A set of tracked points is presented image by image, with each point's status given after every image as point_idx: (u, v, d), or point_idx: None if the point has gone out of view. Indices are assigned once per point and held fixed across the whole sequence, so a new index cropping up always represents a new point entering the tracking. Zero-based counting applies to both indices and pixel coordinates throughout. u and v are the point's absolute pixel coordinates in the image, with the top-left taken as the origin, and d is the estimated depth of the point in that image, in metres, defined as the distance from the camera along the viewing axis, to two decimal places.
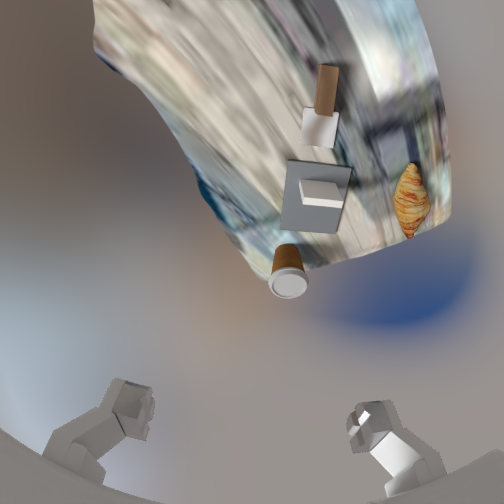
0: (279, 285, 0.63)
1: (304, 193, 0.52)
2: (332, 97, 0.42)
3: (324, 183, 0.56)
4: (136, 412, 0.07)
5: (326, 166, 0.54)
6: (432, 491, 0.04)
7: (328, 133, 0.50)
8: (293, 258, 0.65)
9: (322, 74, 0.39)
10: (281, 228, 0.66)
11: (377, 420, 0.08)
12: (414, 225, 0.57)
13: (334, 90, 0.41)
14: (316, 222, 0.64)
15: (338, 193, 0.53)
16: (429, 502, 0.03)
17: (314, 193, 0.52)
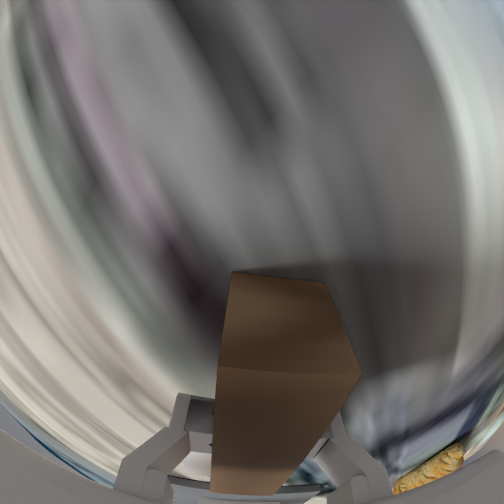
0: None
1: None
2: (278, 473, 0.07)
3: None
4: (211, 427, 0.07)
5: None
6: (432, 491, 0.04)
7: None
8: None
9: (220, 414, 0.06)
10: None
11: None
12: None
13: (293, 460, 0.07)
14: None
15: None
16: (429, 502, 0.03)
17: None
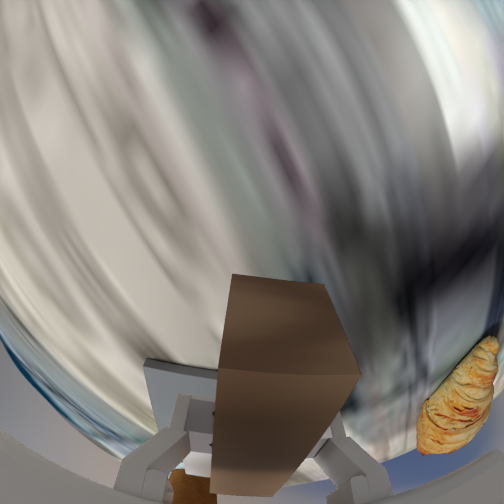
0: None
1: None
2: (278, 474, 0.07)
3: None
4: (211, 427, 0.07)
5: None
6: (432, 491, 0.04)
7: None
8: None
9: (220, 416, 0.06)
10: None
11: None
12: None
13: (293, 461, 0.07)
14: None
15: None
16: (429, 502, 0.03)
17: None
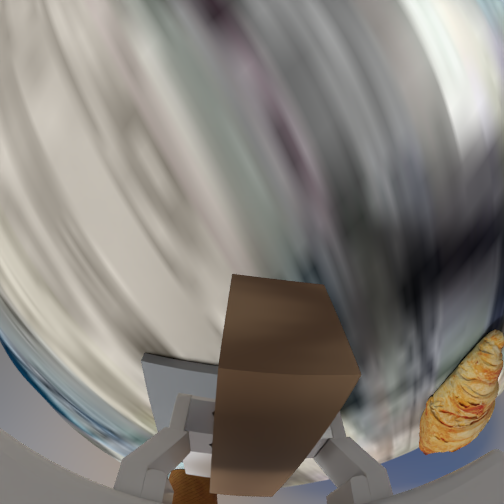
0: None
1: None
2: (278, 474, 0.07)
3: None
4: (211, 427, 0.07)
5: None
6: (432, 491, 0.04)
7: None
8: None
9: (220, 416, 0.06)
10: None
11: None
12: None
13: (293, 461, 0.07)
14: None
15: None
16: (429, 502, 0.03)
17: None
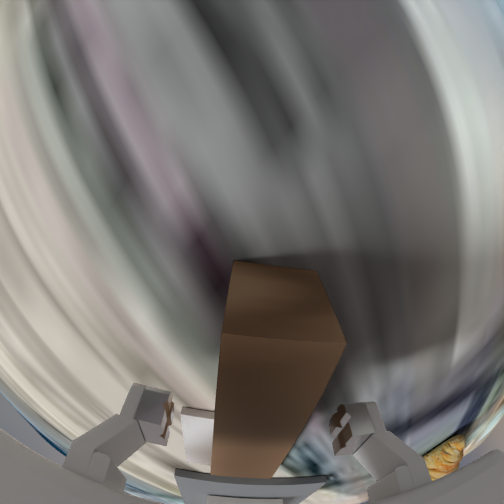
0: None
1: None
2: (275, 451, 0.08)
3: None
4: (159, 418, 0.07)
5: (266, 486, 0.17)
6: (432, 491, 0.04)
7: None
8: None
9: (222, 384, 0.07)
10: None
11: (359, 422, 0.08)
12: None
13: (289, 436, 0.08)
14: None
15: None
16: (429, 502, 0.03)
17: None
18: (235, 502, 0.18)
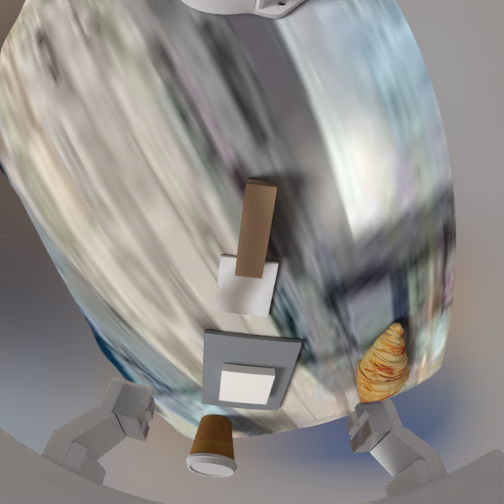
0: (199, 467, 0.37)
1: (221, 395, 0.40)
2: (262, 245, 0.28)
3: (256, 378, 0.38)
4: (136, 412, 0.07)
5: (262, 341, 0.37)
6: (432, 491, 0.04)
7: (261, 296, 0.34)
8: (218, 439, 0.40)
9: (245, 202, 0.27)
10: (204, 402, 0.43)
11: (377, 420, 0.08)
12: None
13: (266, 232, 0.28)
14: None
15: (267, 394, 0.40)
16: (429, 502, 0.03)
17: (233, 395, 0.40)
18: (241, 368, 0.38)
